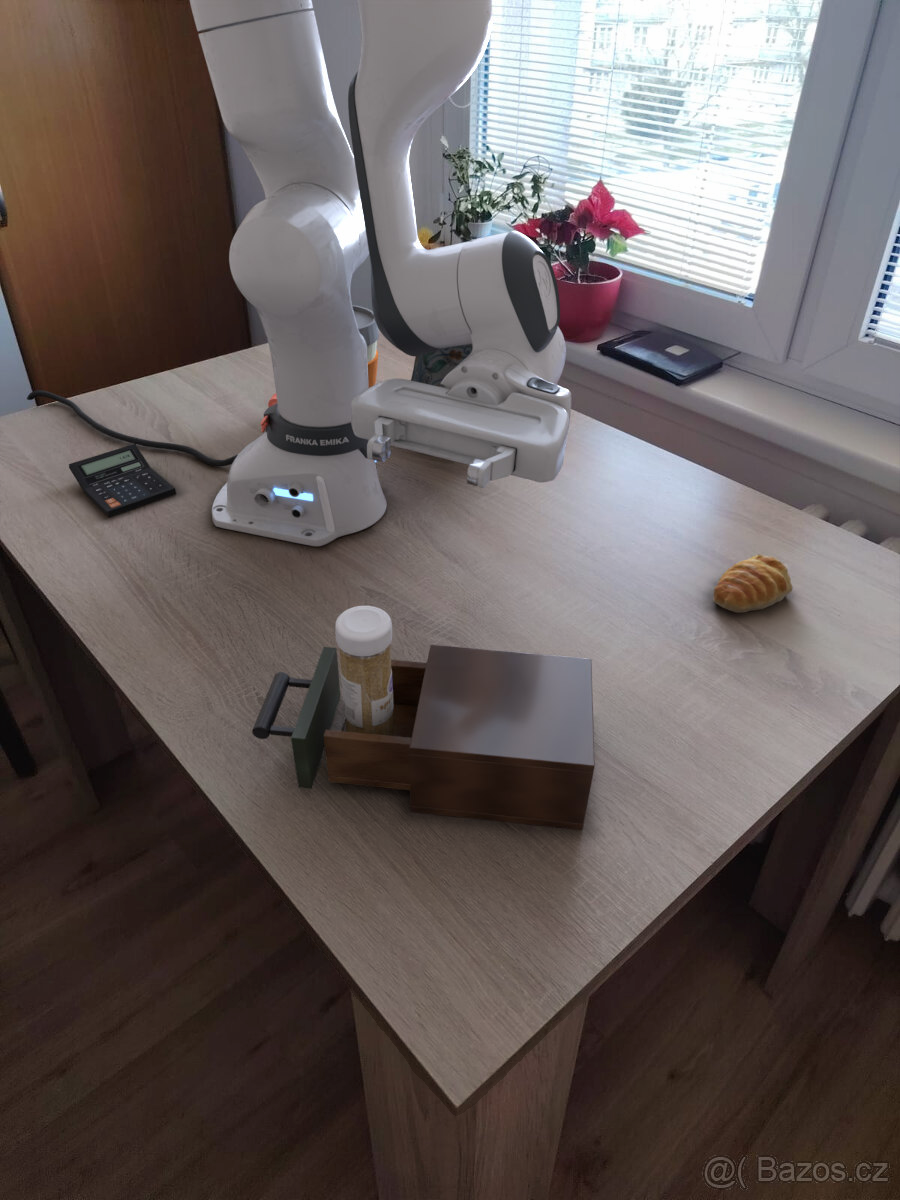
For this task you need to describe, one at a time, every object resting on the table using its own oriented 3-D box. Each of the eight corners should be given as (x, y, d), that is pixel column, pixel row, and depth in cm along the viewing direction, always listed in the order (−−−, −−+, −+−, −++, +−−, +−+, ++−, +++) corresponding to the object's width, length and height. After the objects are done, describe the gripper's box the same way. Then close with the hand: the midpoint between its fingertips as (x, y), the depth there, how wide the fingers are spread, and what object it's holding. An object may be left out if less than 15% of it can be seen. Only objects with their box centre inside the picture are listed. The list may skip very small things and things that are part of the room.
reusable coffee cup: (378, 429, 127) (375, 333, 118) (297, 427, 127) (287, 331, 118) (385, 395, 137) (382, 304, 128) (309, 393, 137) (301, 302, 128)
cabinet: (410, 812, 70) (409, 747, 65) (430, 707, 80) (430, 644, 75) (582, 830, 69) (594, 765, 64) (581, 721, 79) (591, 658, 74)
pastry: (744, 627, 91) (753, 599, 88) (695, 597, 95) (702, 570, 93) (794, 595, 95) (803, 568, 93) (744, 568, 100) (752, 542, 97)
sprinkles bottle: (399, 750, 73) (396, 634, 65) (348, 759, 72) (338, 642, 64) (390, 714, 77) (386, 599, 68) (341, 721, 76) (331, 606, 67)
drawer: (250, 782, 71) (240, 732, 67) (285, 691, 80) (278, 642, 76) (453, 804, 70) (455, 754, 66) (467, 708, 79) (469, 659, 75)
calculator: (108, 517, 106) (103, 497, 104) (73, 482, 113) (67, 462, 111) (176, 493, 111) (172, 473, 109) (138, 461, 118) (133, 442, 116)
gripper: (387, 352, 81) (315, 405, 71) (588, 394, 75) (539, 459, 65) (388, 411, 85) (319, 470, 75) (578, 456, 79) (531, 526, 69)
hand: (423, 465), depth 70 cm, fingers open, 8 cm apart
